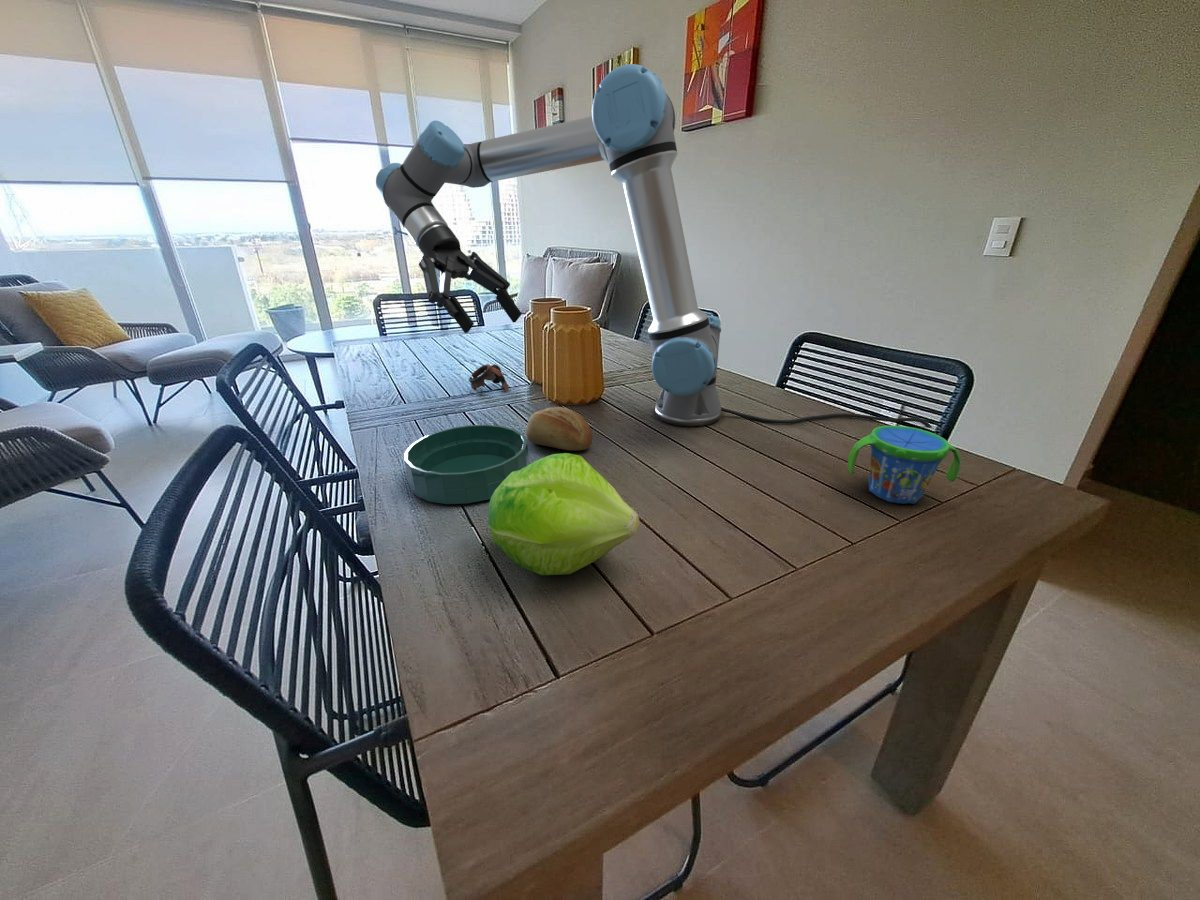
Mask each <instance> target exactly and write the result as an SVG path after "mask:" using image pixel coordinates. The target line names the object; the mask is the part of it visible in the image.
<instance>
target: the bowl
mask: <svg viewBox="0 0 1200 900" xmlns="http://www.w3.org/2000/svg"><path fill="white" fill-rule="evenodd" d="M526 438H527V437H525V435H524V434H523V433H521V432H520V431H518V430H516V429H514V428H511V427H507V426H504V425H495V424H469V425H468V424H467V425H462V426H455V427H450V428H446V429H442V430H438V431H434V432H433V433H430V434H428V435H425V436H423V437H420V438H419V439H418V440H416V441H414V442H413V443H411V444H410V445H409V446H408V447H407V449H406V450H405V451H404V455H403V461H404V467H405V470H406V475H407V480H408V485H409V490H411V492H413V493H414V494H415V495H416V497H418V498H420V499H423V500H425V501H427V502H430V503H435V504H436V503H437V504H444V505H458V504H459V505H460V504H461V505H463V504H472V503H477V502H482V501H488V500H491V497H492V495H493V493H494V491H495V490H496V489H497V487H498V486H499V485H500V484H501V483H502V482H503V481H504V480H505V479H506V478H507V477H508V476H509V475H510V474H511V473H512V472H513V471H517V470H521V469H522V468H524V467H526V466H528V465H529V464H530V459H529V458H530V457H529V447H528V439H526Z"/></svg>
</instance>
